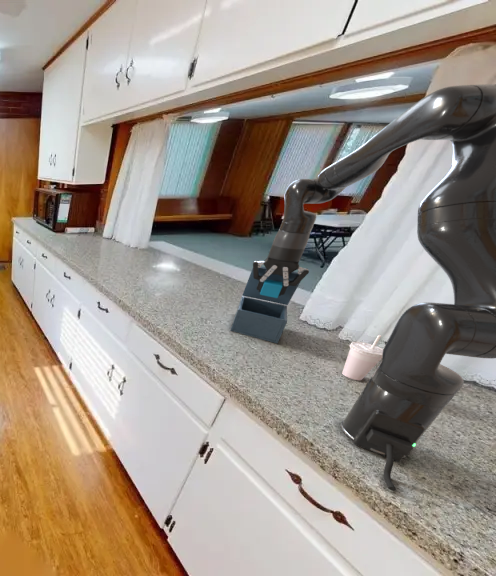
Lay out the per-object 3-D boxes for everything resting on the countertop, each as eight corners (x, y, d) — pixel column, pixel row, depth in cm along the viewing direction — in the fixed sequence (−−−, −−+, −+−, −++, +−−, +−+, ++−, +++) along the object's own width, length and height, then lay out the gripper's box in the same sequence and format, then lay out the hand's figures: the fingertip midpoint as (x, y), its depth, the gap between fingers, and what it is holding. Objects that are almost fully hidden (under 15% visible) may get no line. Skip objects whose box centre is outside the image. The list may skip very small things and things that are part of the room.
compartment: (277, 343, 99) (287, 321, 95) (230, 330, 107) (238, 309, 103) (277, 326, 108) (287, 305, 105) (234, 315, 116) (242, 295, 113)
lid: (304, 274, 94) (306, 263, 97) (253, 266, 102) (256, 256, 105) (287, 305, 105) (290, 294, 107) (242, 295, 113) (245, 285, 115)
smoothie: (360, 385, 80) (387, 342, 74) (329, 371, 86) (352, 330, 80) (375, 381, 82) (402, 338, 76) (344, 366, 87) (367, 326, 82)
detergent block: (277, 298, 97) (282, 286, 96) (259, 294, 100) (264, 282, 98) (277, 294, 100) (282, 282, 99) (260, 290, 103) (265, 279, 101)
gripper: (258, 243, 96) (241, 291, 103) (322, 251, 87) (298, 303, 94) (259, 239, 101) (243, 284, 108) (320, 246, 92) (297, 295, 99)
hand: (269, 293), depth 101 cm, fingers closed on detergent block, 4 cm apart
